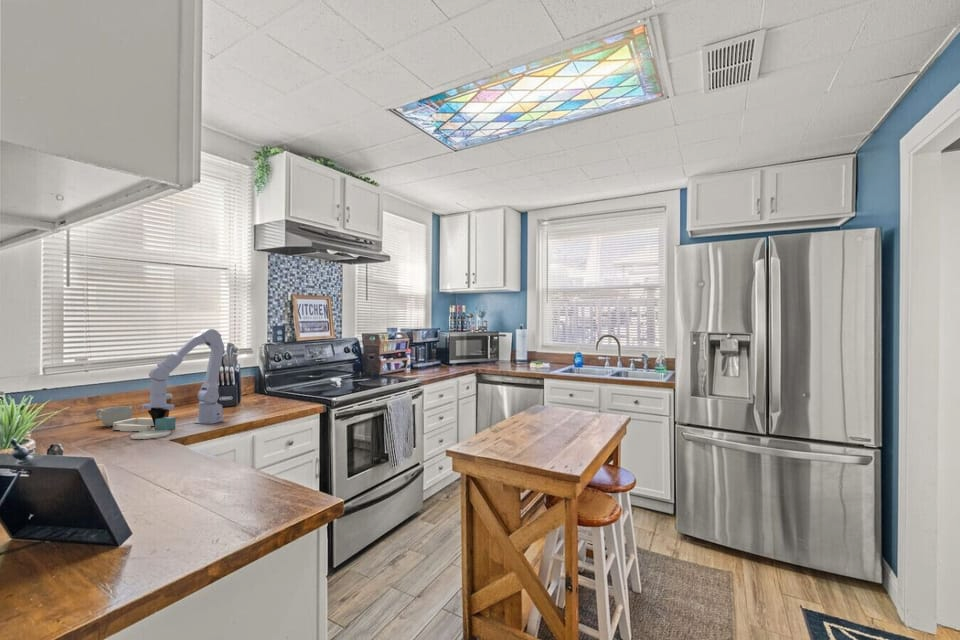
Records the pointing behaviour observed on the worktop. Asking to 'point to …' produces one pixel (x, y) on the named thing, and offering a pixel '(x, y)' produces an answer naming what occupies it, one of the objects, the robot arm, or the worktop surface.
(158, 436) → the dish
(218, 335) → the robot arm
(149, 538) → the worktop surface
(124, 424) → the frame
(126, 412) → the teacup
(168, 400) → the disposable coffee cup
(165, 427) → the cube
